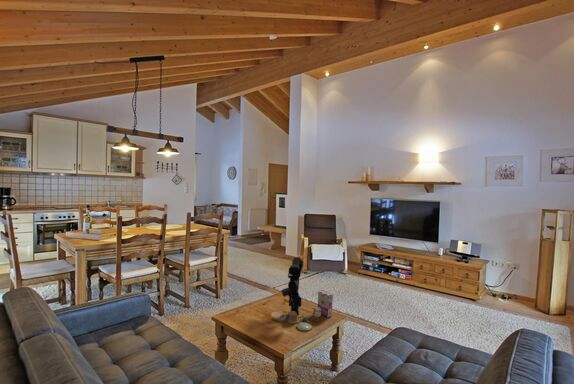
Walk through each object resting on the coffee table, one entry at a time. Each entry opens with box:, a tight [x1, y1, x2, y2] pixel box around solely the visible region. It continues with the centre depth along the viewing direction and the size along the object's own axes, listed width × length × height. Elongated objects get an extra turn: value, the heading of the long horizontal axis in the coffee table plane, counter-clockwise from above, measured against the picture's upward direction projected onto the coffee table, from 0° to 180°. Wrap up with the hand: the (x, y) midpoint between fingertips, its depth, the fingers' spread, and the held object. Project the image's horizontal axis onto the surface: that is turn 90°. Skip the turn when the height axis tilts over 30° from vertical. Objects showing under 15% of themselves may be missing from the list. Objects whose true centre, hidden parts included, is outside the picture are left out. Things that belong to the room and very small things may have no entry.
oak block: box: [312, 306, 322, 316], centre depth 213 cm, size 4×4×4 cm
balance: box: [287, 313, 322, 325], centre depth 211 cm, size 24×6×5 cm, turn 104°
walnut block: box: [287, 310, 298, 323], centre depth 209 cm, size 5×5×5 cm
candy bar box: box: [317, 289, 334, 318], centre depth 224 cm, size 11×5×16 cm, turn 37°
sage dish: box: [296, 322, 312, 332], centre depth 202 cm, size 10×10×1 cm
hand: (292, 306), depth 209 cm, fingers open, 9 cm apart
